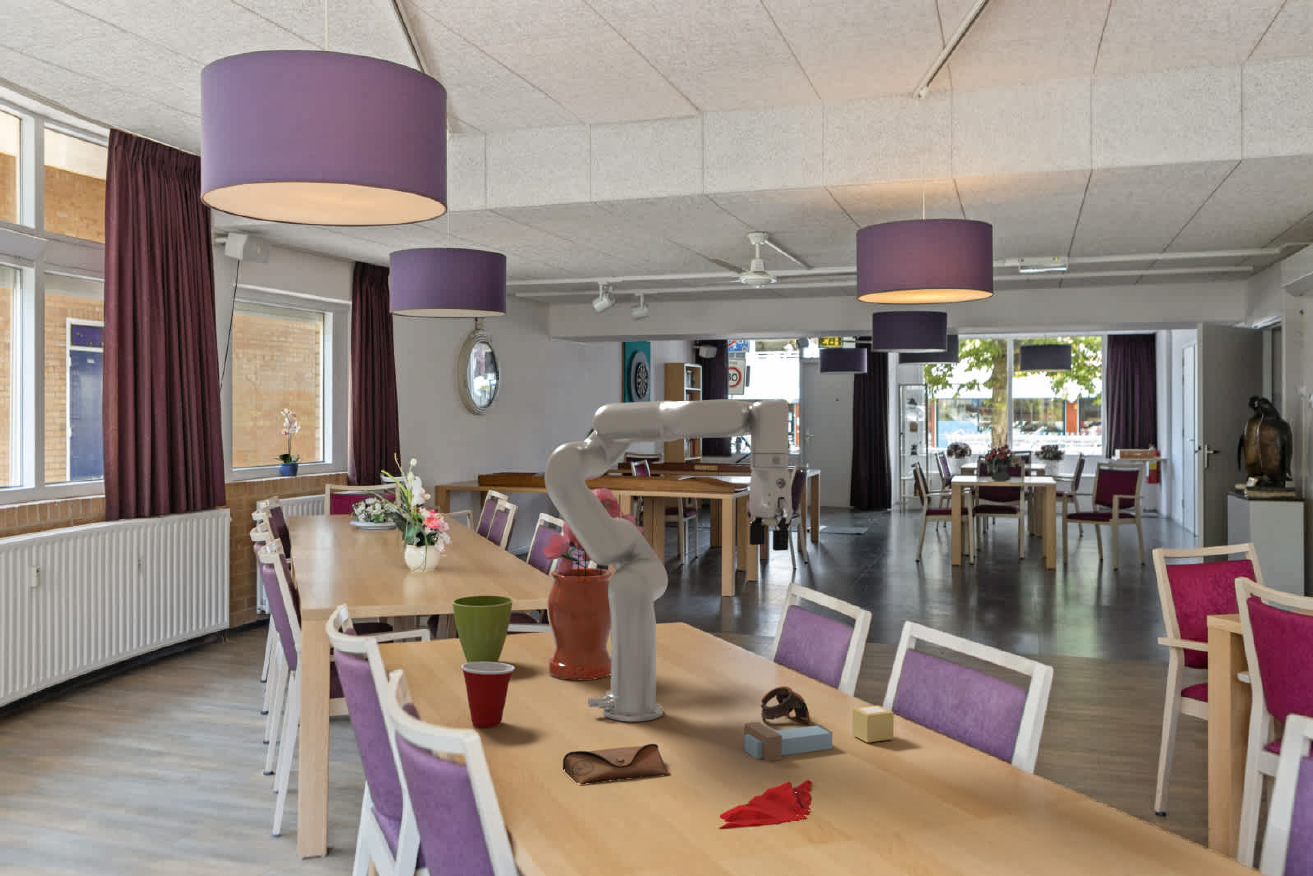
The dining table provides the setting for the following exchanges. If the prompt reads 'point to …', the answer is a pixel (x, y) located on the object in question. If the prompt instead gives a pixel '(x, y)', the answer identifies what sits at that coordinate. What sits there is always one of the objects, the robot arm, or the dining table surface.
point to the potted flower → (580, 605)
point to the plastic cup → (486, 691)
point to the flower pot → (482, 626)
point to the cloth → (771, 807)
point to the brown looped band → (784, 704)
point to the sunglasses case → (614, 764)
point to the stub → (873, 723)
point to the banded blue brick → (784, 741)
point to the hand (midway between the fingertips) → (768, 547)
